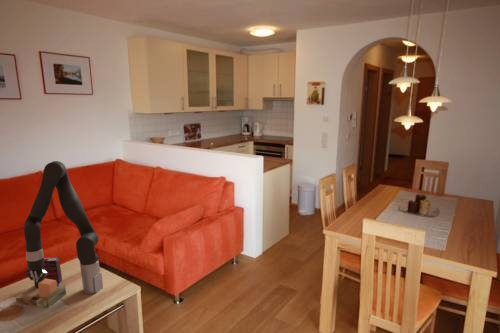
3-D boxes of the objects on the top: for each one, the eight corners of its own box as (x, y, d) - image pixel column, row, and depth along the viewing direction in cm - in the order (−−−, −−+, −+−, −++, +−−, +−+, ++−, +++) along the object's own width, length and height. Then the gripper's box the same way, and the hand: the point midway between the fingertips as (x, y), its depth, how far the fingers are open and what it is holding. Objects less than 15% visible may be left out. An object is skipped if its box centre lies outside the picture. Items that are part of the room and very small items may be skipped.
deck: (66, 294, 177) (65, 284, 176) (48, 307, 166) (47, 297, 164) (35, 289, 181) (34, 280, 180) (16, 302, 170) (14, 292, 168)
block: (57, 293, 172) (56, 280, 171) (50, 298, 168) (49, 284, 166) (46, 291, 174) (45, 278, 172) (39, 296, 169) (37, 282, 168)
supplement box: (62, 281, 190) (59, 256, 187) (59, 285, 185) (55, 260, 182) (46, 282, 189) (43, 257, 185) (43, 287, 184) (39, 261, 181)
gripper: (51, 255, 171) (54, 285, 174) (30, 252, 173) (33, 281, 177) (40, 262, 164) (43, 293, 167) (18, 259, 166) (21, 289, 170)
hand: (38, 287), depth 172 cm, fingers closed
